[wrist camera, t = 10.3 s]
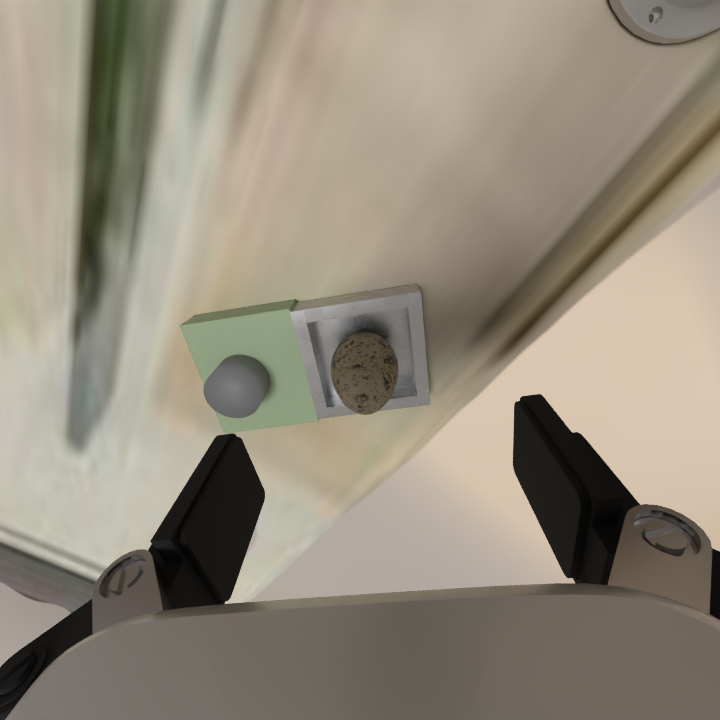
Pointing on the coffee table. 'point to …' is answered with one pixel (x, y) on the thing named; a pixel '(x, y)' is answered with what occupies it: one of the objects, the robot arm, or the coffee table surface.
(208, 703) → the robot arm
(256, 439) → the coffee table surface
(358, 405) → the decorative egg
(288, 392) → the deck
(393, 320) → the tray
